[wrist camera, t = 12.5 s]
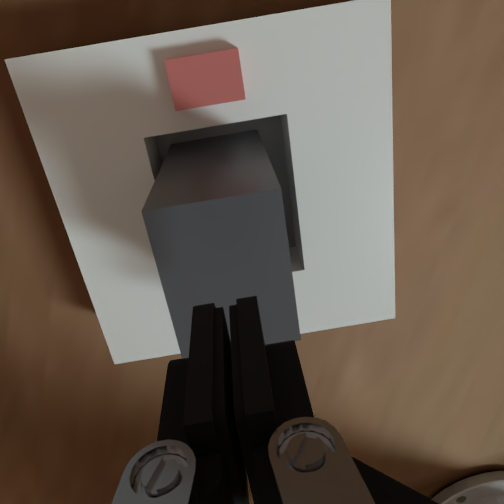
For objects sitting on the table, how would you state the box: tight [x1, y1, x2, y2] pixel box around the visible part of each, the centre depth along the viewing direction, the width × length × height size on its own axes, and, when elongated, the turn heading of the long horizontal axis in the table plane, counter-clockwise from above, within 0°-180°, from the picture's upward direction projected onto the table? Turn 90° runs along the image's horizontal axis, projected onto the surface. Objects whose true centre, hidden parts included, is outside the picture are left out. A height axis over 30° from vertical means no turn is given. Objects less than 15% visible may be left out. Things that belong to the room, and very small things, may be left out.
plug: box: [141, 130, 301, 359], centre depth 21 cm, size 4×9×10 cm, turn 9°
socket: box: [4, 0, 395, 364], centre depth 23 cm, size 16×16×5 cm
